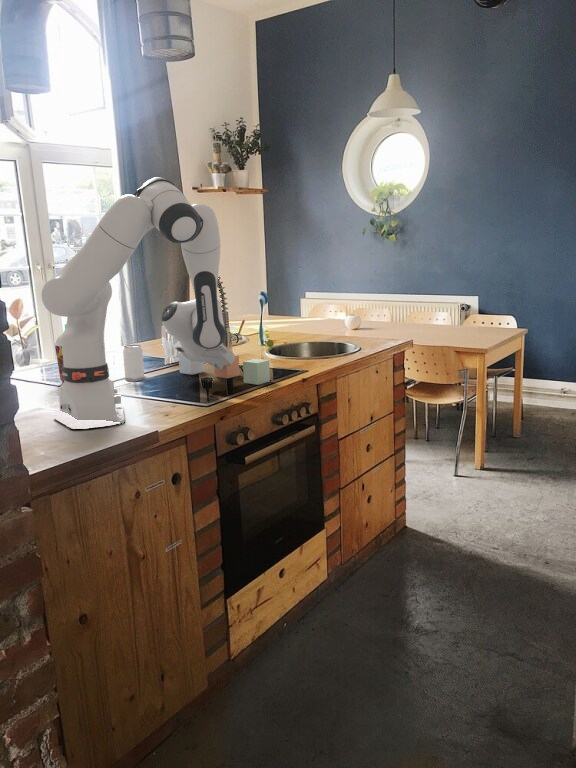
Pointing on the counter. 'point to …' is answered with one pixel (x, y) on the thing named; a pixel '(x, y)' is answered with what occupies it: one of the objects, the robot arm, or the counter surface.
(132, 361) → the can
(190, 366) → the bluegrey block
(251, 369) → the sage block
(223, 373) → the terracotta block
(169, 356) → the beer glass
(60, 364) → the smoothie
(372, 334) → the counter surface
